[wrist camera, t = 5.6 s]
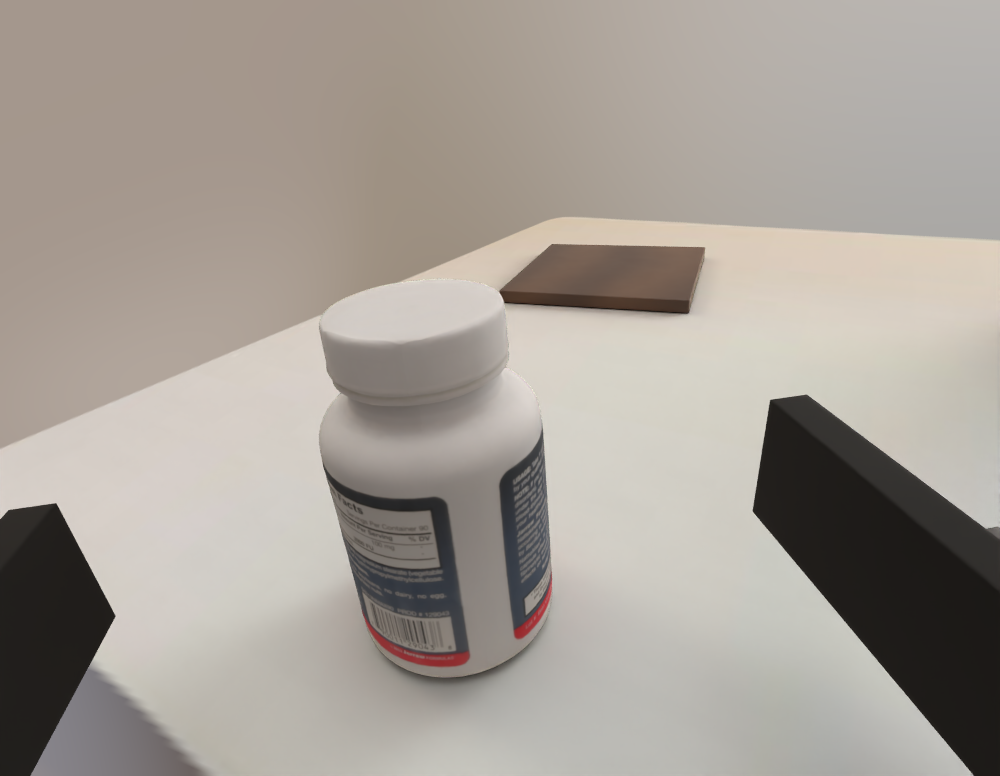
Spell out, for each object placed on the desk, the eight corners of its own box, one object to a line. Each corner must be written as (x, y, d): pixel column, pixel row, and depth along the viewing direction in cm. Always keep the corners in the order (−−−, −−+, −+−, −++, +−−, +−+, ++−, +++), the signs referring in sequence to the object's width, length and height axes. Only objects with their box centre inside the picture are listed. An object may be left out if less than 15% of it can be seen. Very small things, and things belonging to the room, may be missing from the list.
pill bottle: (505, 518, 20) (481, 256, 16) (588, 632, 16) (585, 313, 11) (348, 574, 18) (275, 296, 14) (392, 720, 14) (306, 381, 10)
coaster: (500, 302, 39) (498, 290, 39) (551, 253, 49) (551, 243, 49) (688, 313, 35) (689, 300, 35) (704, 257, 45) (705, 247, 44)
